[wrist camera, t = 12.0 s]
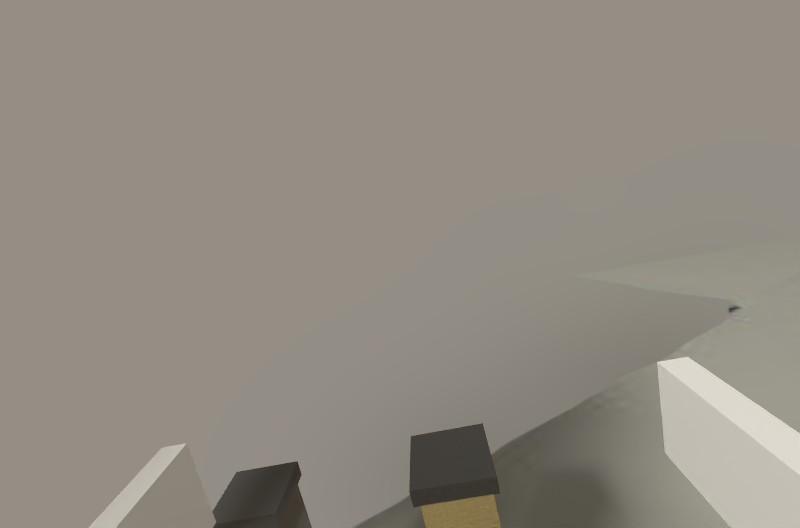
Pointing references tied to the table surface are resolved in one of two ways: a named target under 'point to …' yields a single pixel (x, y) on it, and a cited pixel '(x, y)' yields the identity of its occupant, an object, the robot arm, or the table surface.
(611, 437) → the table surface
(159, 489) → the robot arm
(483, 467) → the brass leg
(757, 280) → the table surface
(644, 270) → the table surface
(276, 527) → the tan and grey stand
